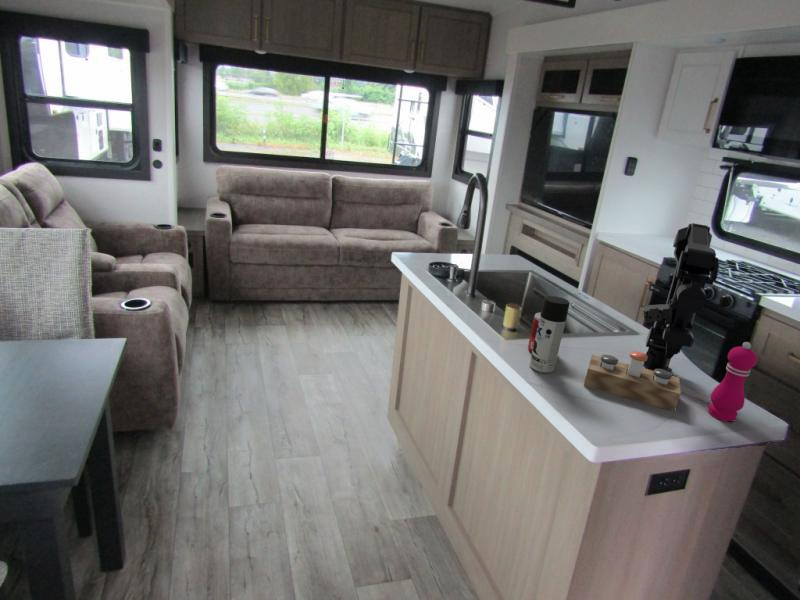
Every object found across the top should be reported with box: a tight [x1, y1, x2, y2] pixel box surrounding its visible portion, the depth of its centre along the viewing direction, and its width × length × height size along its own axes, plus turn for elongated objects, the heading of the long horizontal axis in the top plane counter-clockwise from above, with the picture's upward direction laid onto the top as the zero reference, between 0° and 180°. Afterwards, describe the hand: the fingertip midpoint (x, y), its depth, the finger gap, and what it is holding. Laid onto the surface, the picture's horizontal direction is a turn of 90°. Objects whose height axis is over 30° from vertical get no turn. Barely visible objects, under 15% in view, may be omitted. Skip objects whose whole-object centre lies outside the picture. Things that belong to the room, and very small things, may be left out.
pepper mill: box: [707, 341, 758, 422], centre depth 134 cm, size 7×7×20 cm
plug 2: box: [653, 369, 673, 385], centre depth 141 cm, size 4×4×7 cm
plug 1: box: [600, 354, 619, 370], centre depth 146 cm, size 4×4×7 cm
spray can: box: [529, 295, 571, 374], centre depth 148 cm, size 7×7×20 cm
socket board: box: [583, 354, 682, 412], centre depth 144 cm, size 22×10×5 cm, turn 66°
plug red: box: [627, 350, 648, 378], centre depth 143 cm, size 4×4×7 cm
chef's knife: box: [680, 384, 712, 404], centre depth 148 cm, size 19×1×3 cm
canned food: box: [527, 312, 541, 354], centre depth 160 cm, size 8×8×11 cm
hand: (667, 358), depth 139 cm, fingers closed
